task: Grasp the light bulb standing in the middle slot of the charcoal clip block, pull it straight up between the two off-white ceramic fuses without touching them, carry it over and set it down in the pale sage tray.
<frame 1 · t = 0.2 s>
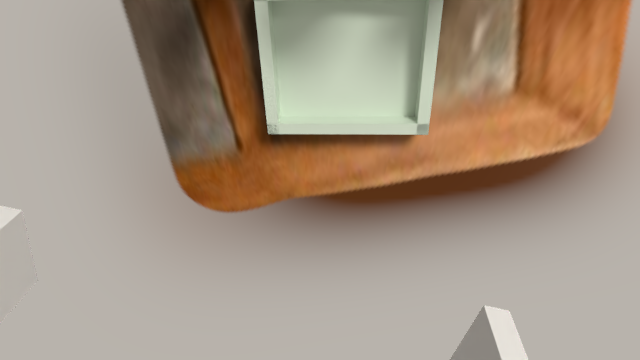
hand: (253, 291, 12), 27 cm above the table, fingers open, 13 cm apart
tray: (347, 57, 36), on the table
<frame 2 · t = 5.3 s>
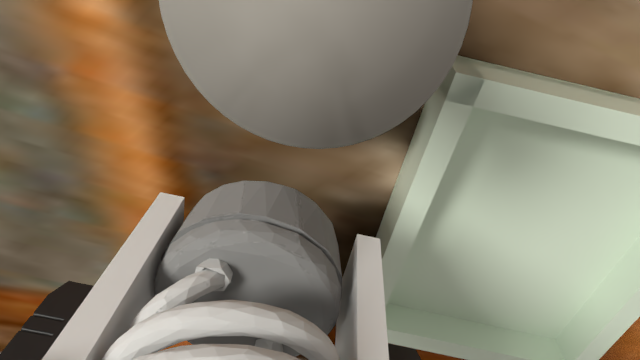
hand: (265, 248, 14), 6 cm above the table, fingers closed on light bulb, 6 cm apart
tray: (512, 225, 20), on the table
light bulb: (273, 195, 16), point 3 cm above the table, touching gripper
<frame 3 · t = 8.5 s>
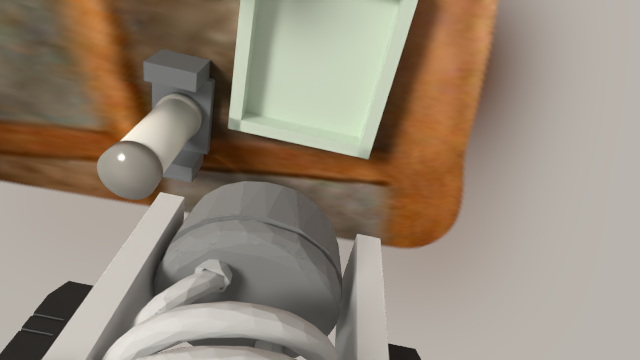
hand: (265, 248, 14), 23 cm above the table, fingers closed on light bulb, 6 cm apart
tray: (317, 53, 34), on the table
clip block: (187, 10, 32), on the table
fuse a: (184, 110, 37), resting on clip block
light bulb: (273, 195, 16), point 20 cm above the table, touching gripper
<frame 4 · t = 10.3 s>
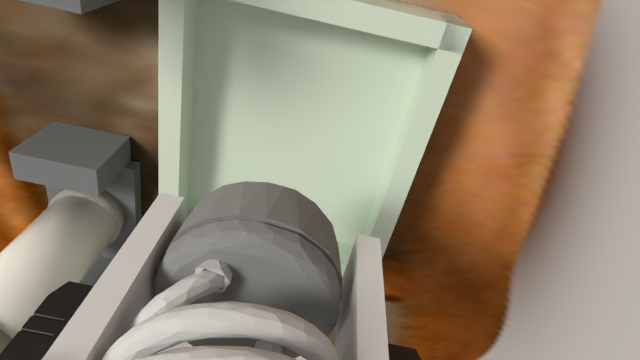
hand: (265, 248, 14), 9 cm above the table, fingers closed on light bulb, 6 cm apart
tray: (294, 129, 22), on the table
clip block: (86, 64, 20), on the table
fuse a: (99, 203, 25), resting on clip block
light bulb: (273, 195, 16), point 6 cm above the table, touching gripper
when the fingers open (4 cm above the table, at t = 12.0 s): light bulb stays where it is, resting on tray.
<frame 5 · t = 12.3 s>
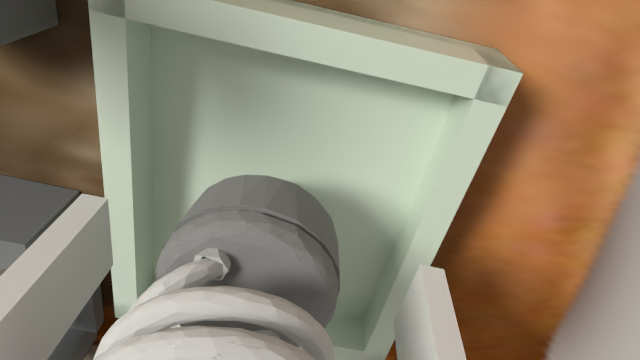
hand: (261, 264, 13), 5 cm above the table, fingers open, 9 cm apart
tray: (282, 185, 17), on the table
clip block: (17, 106, 16), on the table
light bulb: (276, 191, 17), point 1 cm above the table, touching tray
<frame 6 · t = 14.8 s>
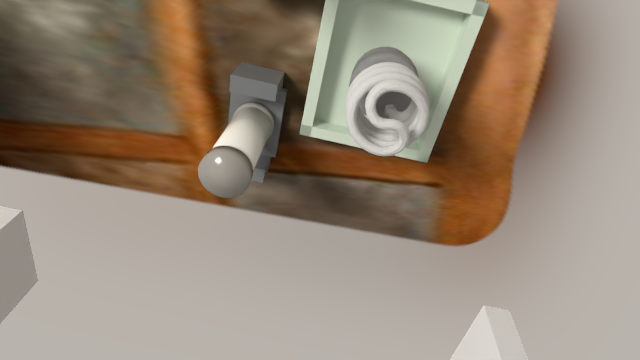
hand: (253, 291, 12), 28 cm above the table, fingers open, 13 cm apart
tray: (383, 66, 37), on the table
clip block: (268, 27, 36), on the table
fuse a: (256, 117, 41), resting on clip block
light bulb: (382, 67, 36), point 1 cm above the table, touching tray
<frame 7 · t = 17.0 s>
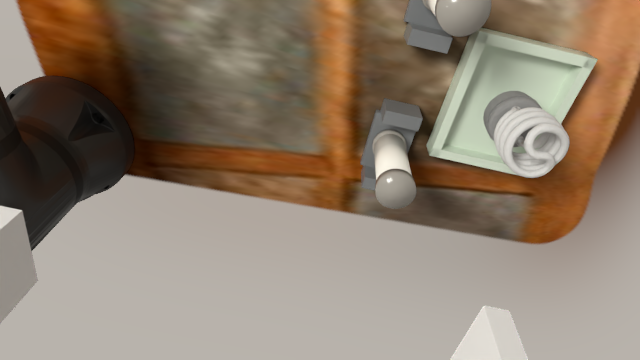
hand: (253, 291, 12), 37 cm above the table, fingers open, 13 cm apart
tray: (500, 102, 46), on the table
clip block: (411, 72, 45), on the table
fuse a: (388, 140, 50), resting on clip block
light bulb: (500, 103, 46), point 1 cm above the table, touching tray
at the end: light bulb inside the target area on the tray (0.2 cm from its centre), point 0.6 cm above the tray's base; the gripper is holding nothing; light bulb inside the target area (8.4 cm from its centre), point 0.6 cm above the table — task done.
